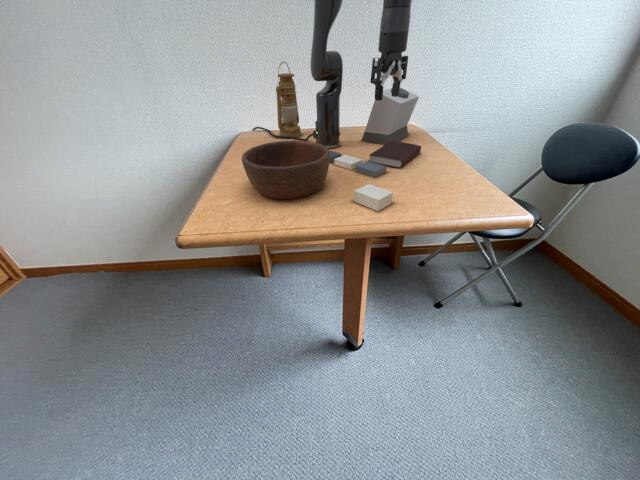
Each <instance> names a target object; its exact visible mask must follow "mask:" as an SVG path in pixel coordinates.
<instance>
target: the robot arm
mask: <svg viewBox="0 0 640 480" xmlns="http://www.w3.org/2000/svg"><path fill="white" fill-rule="evenodd" d="M313 2H314V3H313V4H314V5H313V10H314V11H313V29H312V30H313V32H312V42H311V49H310V50H311V51H310V62H309V63H310V65H309V68H310V73H311V77H312V79H313V81H315V82H325V85H324V86H323V88H321V89H320V90H319V91H317V92H316V94H315V101H316V103H315V104H316V105H315V106H316V120H315V122H314V123H315V125H314V127H315V129H314V130H313V132H312V133H310V134H309V135H308V136H307V137H306V138H301V137H292V136H280V135H277V134H274V133H273V132H271V130H270V129H268V128H265V127H261V126H255V127H254V128H252V131H253V132H254V131H255V130H259V129H260V130H263V131H266V132H268V134H269V135H271V136H272V137H274V138H279V139H294V140H297V141H308V140H309V139H310V137H313V139H315V143H319V144H321V145H324V146H325V147H327V148H328V149H334V148H337V147H339V146H340V143H341V142H340V137H341V132H340V125H341V123H340V122H341V121H340V120H341V119H340V118H341V115H340V114H341V94H342V90H343V76H344V75H343V74H344V72H343V71H344V64H343V58H342V54H340V52H339V51H338V50H327V49H328V41H329V36H330V33H331V29H332V28H333V25H334V24H335V21H336V19H337V17H338V16H339V13H340V11H341V8H342V6H343V2H344V0H314V1H313ZM412 2H413V0H383V2H382V12H381V17H380V25H379V37H378V49H377V50H378V52H379V53H380V57H373V58H372V64H371V71H370V81H369V82H370V84H373V85H374V87H375V88H374V101H375V100H378V101H381V100H382V97H383V91H384V87H385V86H384V84H385V82H386V80H387V79H388V78H389V77H391V78H392V87H391V88H392V96H393V97H398V96H399V91H400V87H401V83H402V82H403V80H406V79H407V72H408V63H409V55H403V54H402V53H405V52H406V51H407V47H408V38H409V32H410V25H411V11H412V10H411V9H412V8H411V7H412Z"/></svg>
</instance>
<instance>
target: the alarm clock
mask: <svg viewBox="0 0 640 480" xmlns="http://www.w3.org/2000/svg"><path fill="white" fill-rule="evenodd" d="M419 98H420V96H419V95H418V94H416V93H413V92H411V91H409V90H407V89H405V88H402V87H401V86H400V91H399V96H398V97H393V96H392V87H391V88H388V89H383V97H382V100H381V101H378V100H375V99H374V102H373V105H372V108H371V110H370V113H369V117H368V120H367V122H366V126H365V130H364V132H363V135H362V139H361V142H367V143H373V144H377V145H378V144H379V145H385V144H387V143H389V142H390V141H397V142H399V141H400V140H402V139H403V138H405V137H406V136H408V135H409V129H408V124H409V121H410V120H411V118H412V116H413V113H414V110H415V108H416V106H417V103H418V100H419Z"/></svg>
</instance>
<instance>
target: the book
mask: <svg viewBox="0 0 640 480" xmlns="http://www.w3.org/2000/svg"><path fill="white" fill-rule="evenodd" d="M421 151H422V146H421V145H418V144H414V143H408V142H404V141H390V142H389V143H387V144H383V146H381V147H379V148H377V149H376V150H374V151H372V152H371V153H370V154H369V155H368V156H369V160H368V161H369V162H372V163H376V164H379V165H383V166H386V167H387V166H388V167H393V168H400V169H401V168H403V167H404V166H405V165H406V164H407V163H408V162H410V161H411V160H412V159H414V158H415V157H417V156H418V155H419V154H420V153H421Z"/></svg>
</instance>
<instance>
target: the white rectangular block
mask: <svg viewBox="0 0 640 480" xmlns="http://www.w3.org/2000/svg"><path fill="white" fill-rule="evenodd" d="M393 195H394V191H391V190H387V189H385V188H383V187H379V186H376V185H373V184H371V183H367V184H365V185H363V186H361V187H359V188H356V189H355V190H354V192H353V202H355V203H357V204H359V205H362V206H365V207H367V208H369V209H372V210H374V211H376V212H379V211H381V210H383V209H384V208H386V207H388V206H389V205H392V202H393V197H394V196H393Z"/></svg>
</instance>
